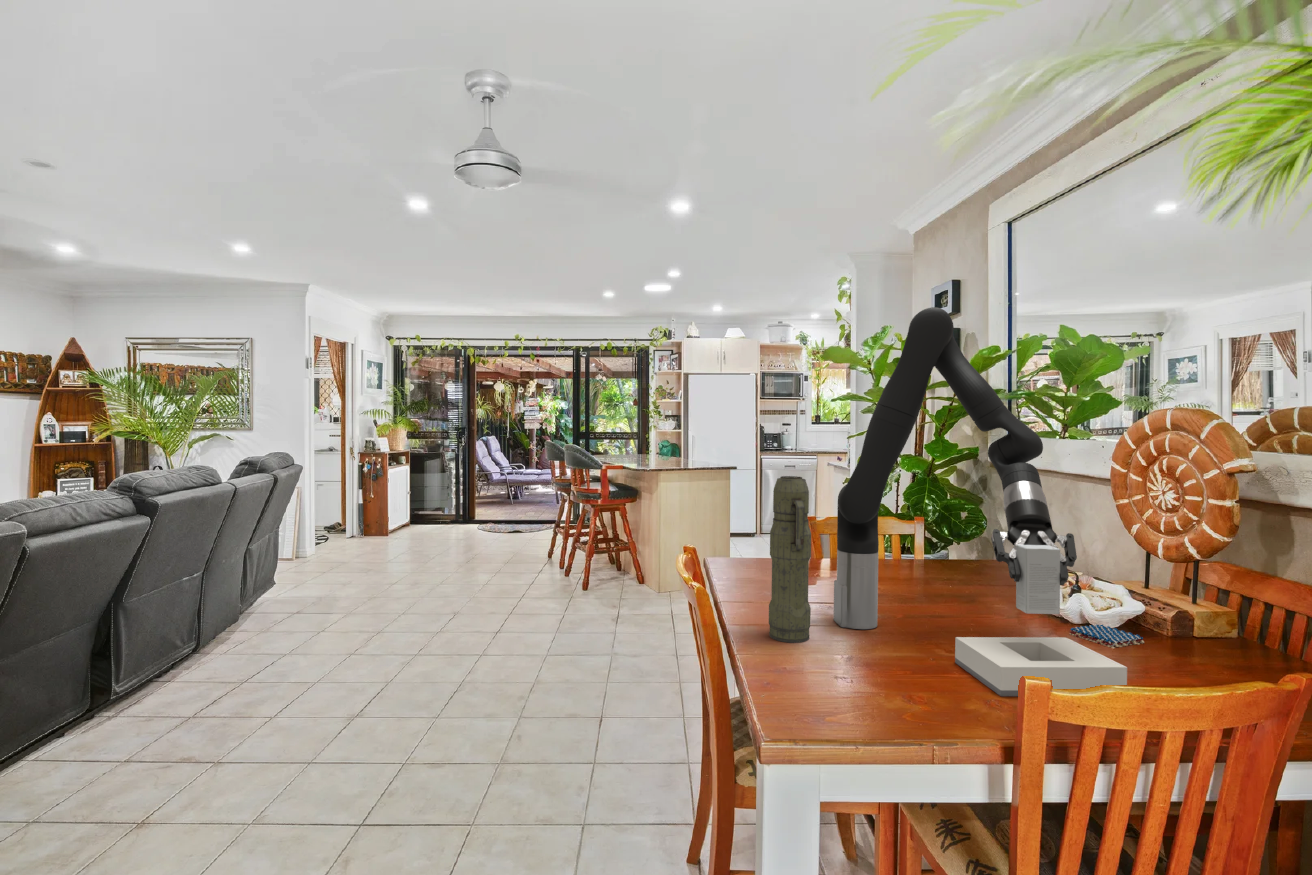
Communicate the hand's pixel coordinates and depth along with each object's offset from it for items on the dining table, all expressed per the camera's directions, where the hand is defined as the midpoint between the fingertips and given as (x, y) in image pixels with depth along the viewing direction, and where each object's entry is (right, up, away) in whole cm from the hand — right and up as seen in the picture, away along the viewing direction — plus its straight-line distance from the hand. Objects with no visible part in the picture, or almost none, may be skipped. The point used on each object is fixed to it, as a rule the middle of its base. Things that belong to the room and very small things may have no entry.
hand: (1039, 580), depth 118 cm
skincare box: (0, -6, +2) cm, 6 cm away
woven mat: (+29, -19, +25) cm, 43 cm away
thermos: (-41, -18, +24) cm, 51 cm away
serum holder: (0, -18, +1) cm, 18 cm away
